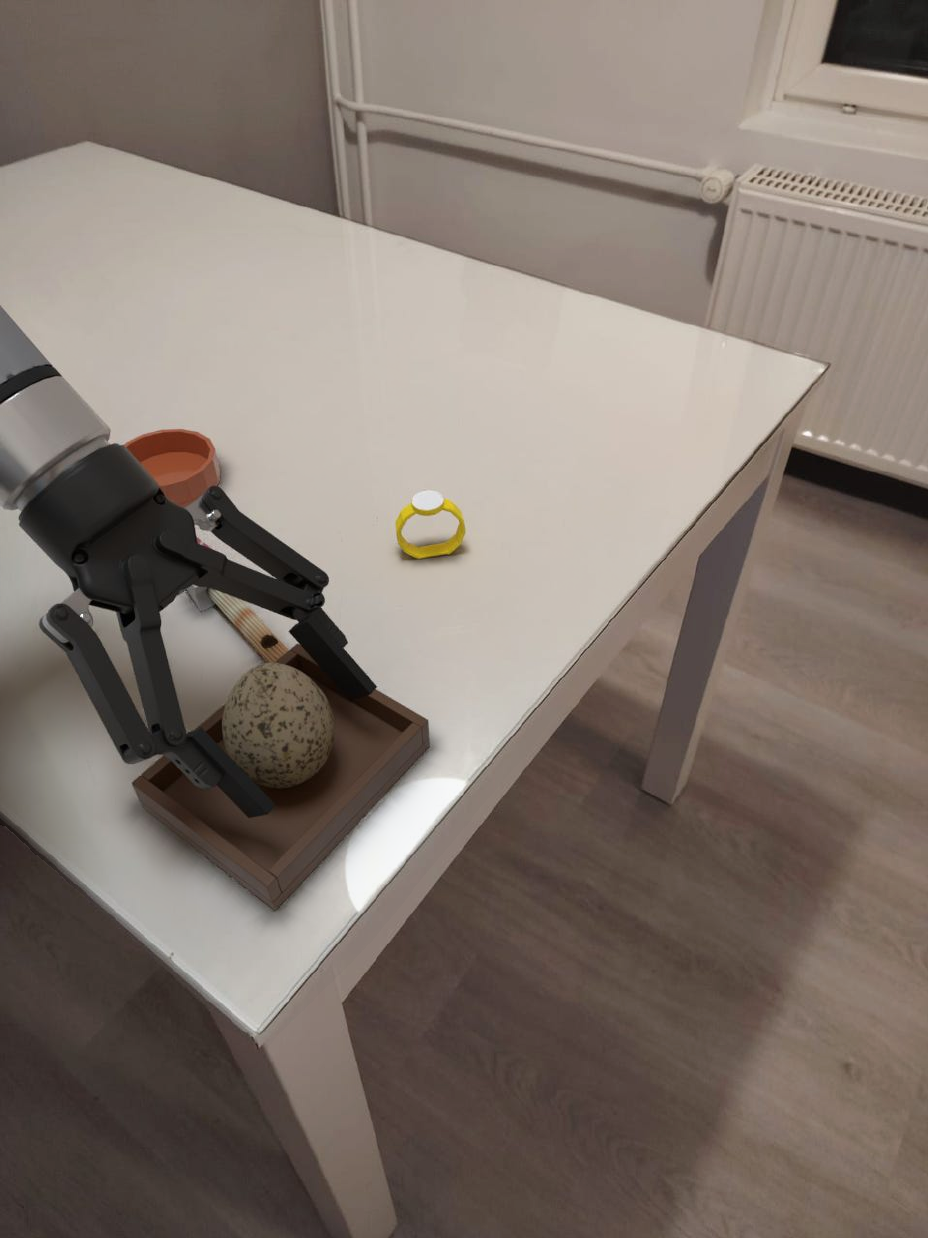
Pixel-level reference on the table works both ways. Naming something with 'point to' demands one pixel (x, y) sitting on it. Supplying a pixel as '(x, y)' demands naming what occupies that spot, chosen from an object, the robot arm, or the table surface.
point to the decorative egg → (278, 726)
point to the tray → (292, 792)
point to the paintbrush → (240, 619)
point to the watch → (427, 506)
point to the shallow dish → (178, 462)
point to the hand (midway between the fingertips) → (315, 749)
